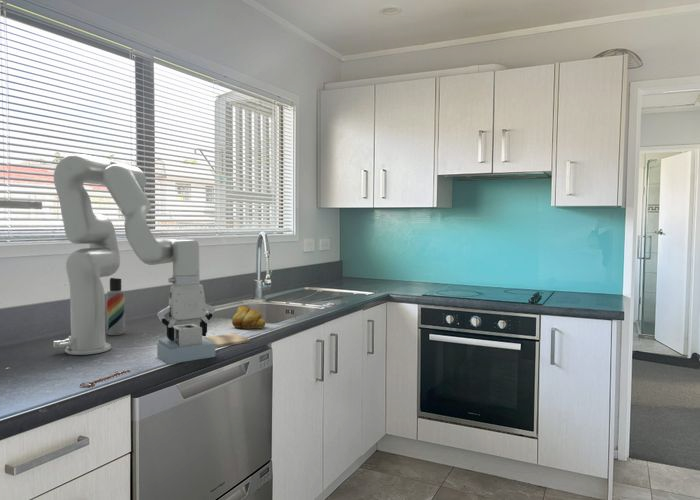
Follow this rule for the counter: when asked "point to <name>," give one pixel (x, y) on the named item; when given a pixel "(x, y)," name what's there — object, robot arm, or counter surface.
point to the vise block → (184, 351)
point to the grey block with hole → (187, 335)
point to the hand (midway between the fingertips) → (187, 337)
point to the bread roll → (247, 318)
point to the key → (103, 379)
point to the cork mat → (227, 339)
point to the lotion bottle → (115, 308)
